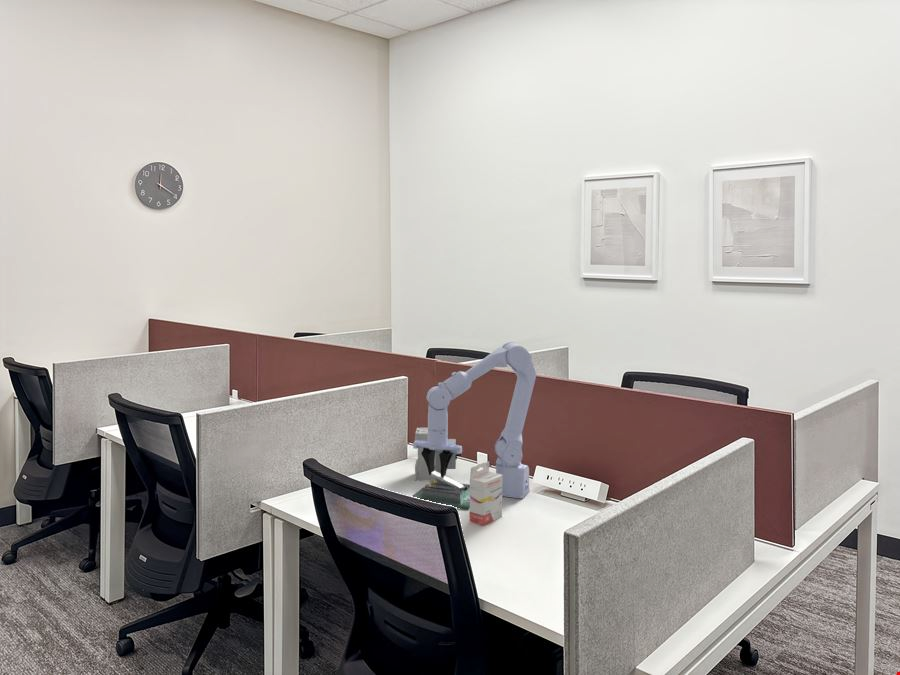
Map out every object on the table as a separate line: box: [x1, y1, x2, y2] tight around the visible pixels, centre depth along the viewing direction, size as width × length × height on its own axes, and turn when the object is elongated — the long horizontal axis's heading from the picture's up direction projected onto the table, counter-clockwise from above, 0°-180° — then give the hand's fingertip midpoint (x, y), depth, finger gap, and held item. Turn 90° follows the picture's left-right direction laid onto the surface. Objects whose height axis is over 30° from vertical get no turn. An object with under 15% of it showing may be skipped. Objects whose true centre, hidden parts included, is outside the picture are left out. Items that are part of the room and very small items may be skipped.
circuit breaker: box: [414, 427, 462, 482], centre depth 221 cm, size 8×14×15 cm, turn 89°
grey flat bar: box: [431, 471, 466, 490], centre depth 201 cm, size 10×3×1 cm, turn 69°
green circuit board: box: [411, 480, 470, 511], centre depth 202 cm, size 18×13×4 cm
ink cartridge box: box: [469, 461, 503, 527], centre depth 185 cm, size 9×5×15 cm, turn 141°
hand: (437, 474), depth 202 cm, fingers open, 3 cm apart
